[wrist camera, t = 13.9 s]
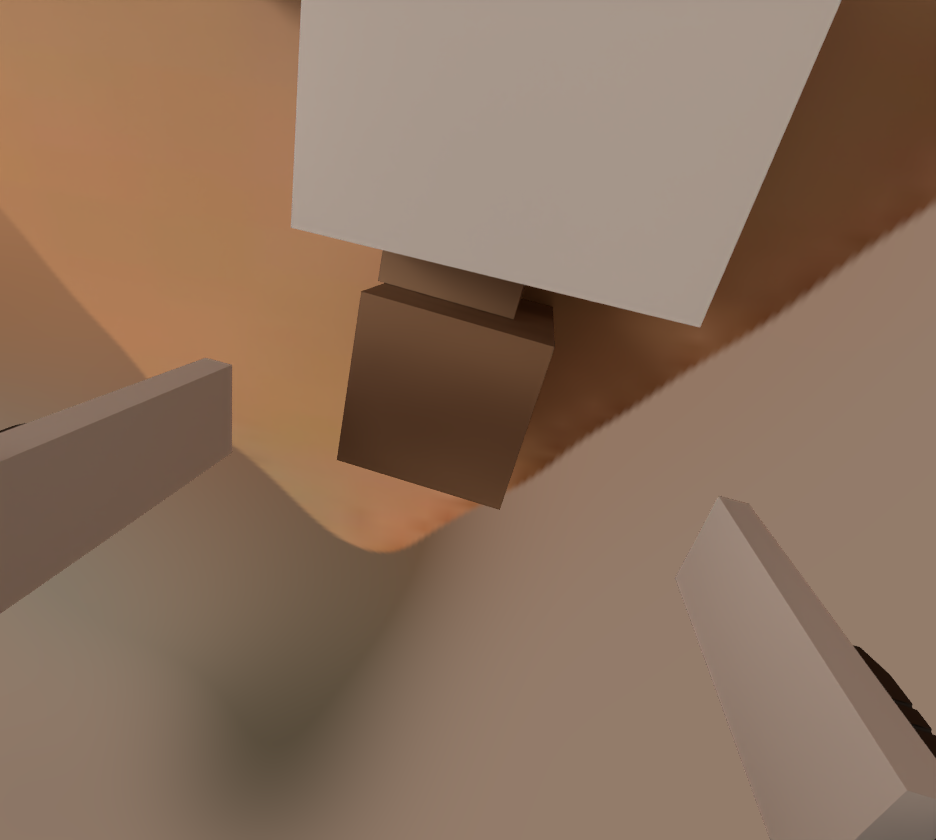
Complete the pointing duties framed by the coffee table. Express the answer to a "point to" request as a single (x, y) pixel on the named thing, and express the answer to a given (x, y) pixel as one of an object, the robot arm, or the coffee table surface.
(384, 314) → the block
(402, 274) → the rod
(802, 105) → the coffee table surface
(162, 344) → the coffee table surface
